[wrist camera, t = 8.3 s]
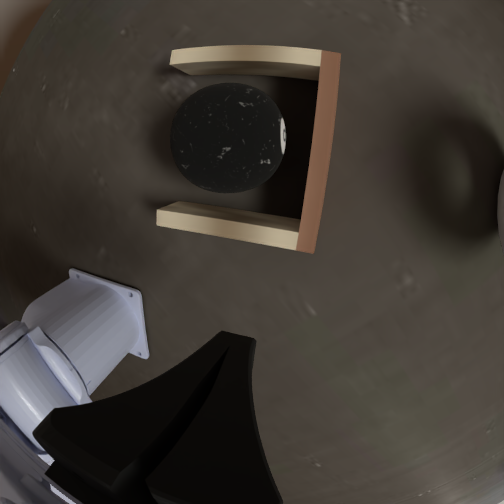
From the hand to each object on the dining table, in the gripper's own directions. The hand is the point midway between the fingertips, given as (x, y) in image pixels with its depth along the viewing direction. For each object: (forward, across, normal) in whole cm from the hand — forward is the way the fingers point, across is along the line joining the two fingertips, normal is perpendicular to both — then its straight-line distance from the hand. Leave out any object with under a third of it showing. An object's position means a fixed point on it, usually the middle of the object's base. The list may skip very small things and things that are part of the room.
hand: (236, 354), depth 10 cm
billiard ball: (+10, +3, -8) cm, 13 cm away
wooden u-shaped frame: (+10, +3, -8) cm, 13 cm away
